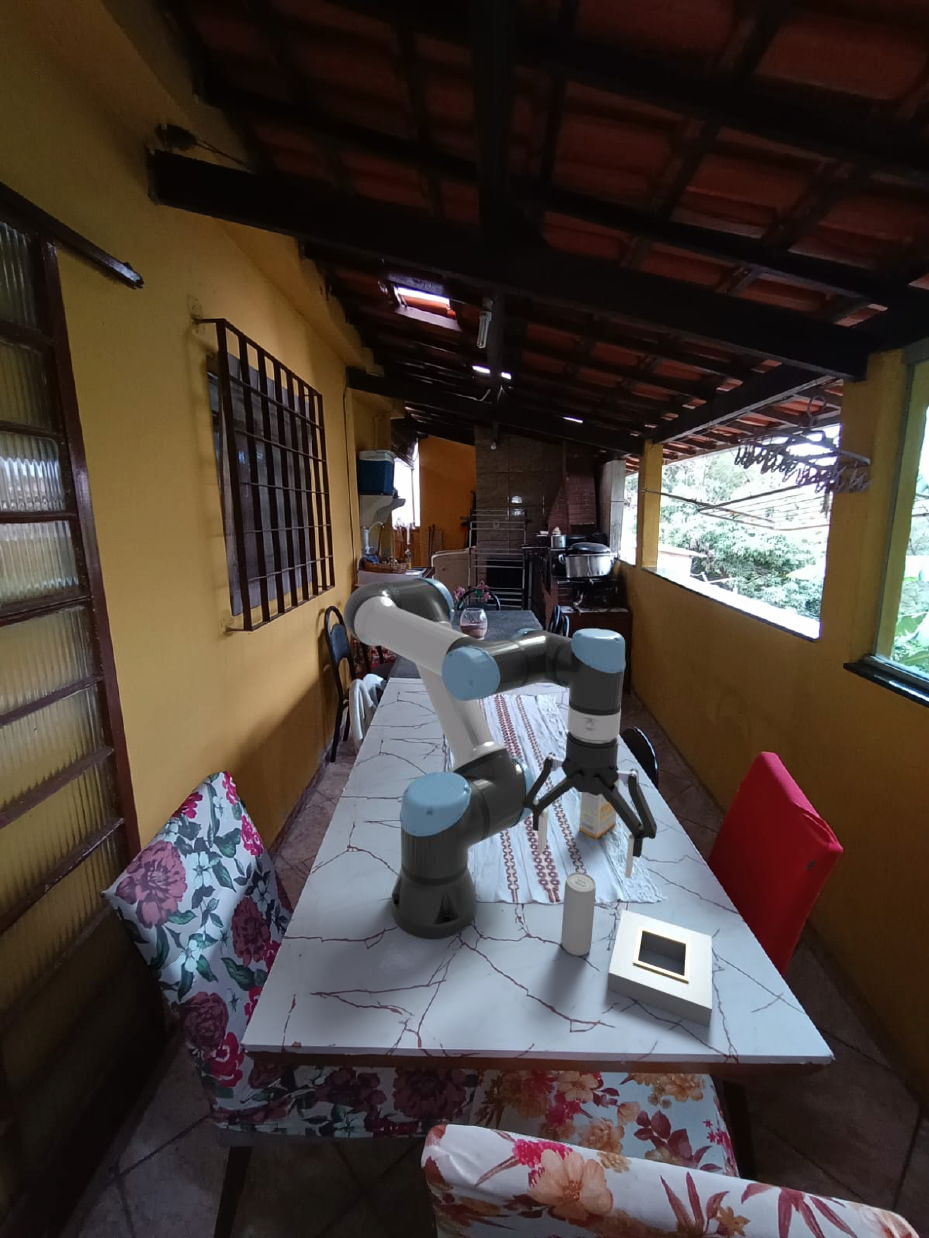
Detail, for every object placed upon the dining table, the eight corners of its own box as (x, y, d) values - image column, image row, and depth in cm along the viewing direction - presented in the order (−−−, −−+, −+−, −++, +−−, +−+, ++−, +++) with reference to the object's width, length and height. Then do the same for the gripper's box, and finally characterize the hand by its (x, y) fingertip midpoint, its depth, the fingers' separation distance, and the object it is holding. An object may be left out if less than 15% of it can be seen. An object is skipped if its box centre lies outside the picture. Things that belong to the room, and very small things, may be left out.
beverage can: (569, 929, 91) (574, 867, 89) (596, 944, 88) (601, 880, 86) (555, 947, 88) (559, 882, 85) (582, 963, 85) (587, 896, 82)
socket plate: (606, 988, 80) (608, 970, 79) (620, 923, 93) (622, 907, 92) (709, 1026, 75) (712, 1007, 74) (709, 952, 87) (711, 934, 86)
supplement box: (597, 815, 125) (601, 763, 122) (616, 824, 122) (621, 771, 119) (577, 830, 119) (581, 776, 116) (596, 839, 116) (600, 784, 113)
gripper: (504, 727, 81) (500, 852, 86) (681, 761, 72) (666, 899, 76) (520, 711, 88) (515, 827, 93) (683, 739, 78) (670, 868, 83)
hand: (583, 860), depth 84 cm, fingers open, 13 cm apart
